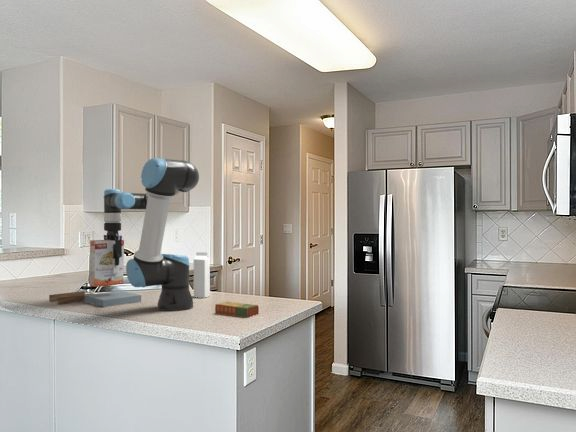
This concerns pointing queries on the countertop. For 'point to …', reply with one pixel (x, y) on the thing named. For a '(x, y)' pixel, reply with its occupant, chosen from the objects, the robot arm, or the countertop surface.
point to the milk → (201, 275)
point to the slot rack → (68, 297)
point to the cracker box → (104, 264)
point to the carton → (236, 309)
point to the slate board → (112, 298)
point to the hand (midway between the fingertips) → (112, 271)
